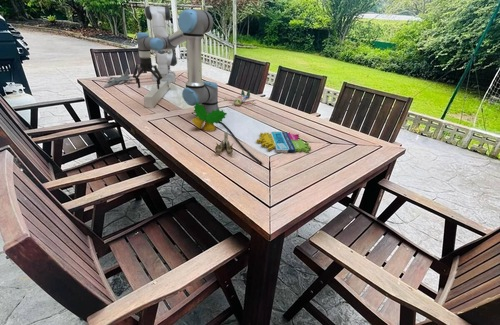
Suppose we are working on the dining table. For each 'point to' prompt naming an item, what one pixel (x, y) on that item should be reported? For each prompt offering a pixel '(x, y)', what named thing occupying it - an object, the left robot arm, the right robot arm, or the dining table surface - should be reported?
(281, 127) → the dining table surface
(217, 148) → the jawbone
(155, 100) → the beam
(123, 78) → the airplane
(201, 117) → the ornament
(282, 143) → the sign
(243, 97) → the toy
